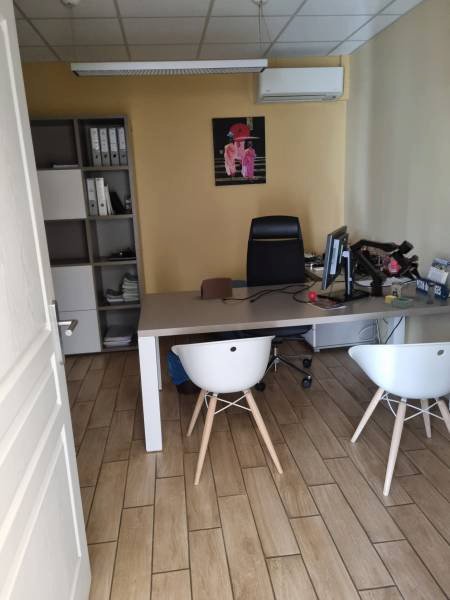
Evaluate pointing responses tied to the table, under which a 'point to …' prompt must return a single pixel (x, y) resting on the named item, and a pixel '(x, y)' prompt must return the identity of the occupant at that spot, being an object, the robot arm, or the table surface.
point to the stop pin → (431, 293)
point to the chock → (389, 299)
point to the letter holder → (216, 288)
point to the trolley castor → (398, 293)
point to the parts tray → (402, 302)
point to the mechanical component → (401, 285)
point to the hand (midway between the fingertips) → (417, 279)
